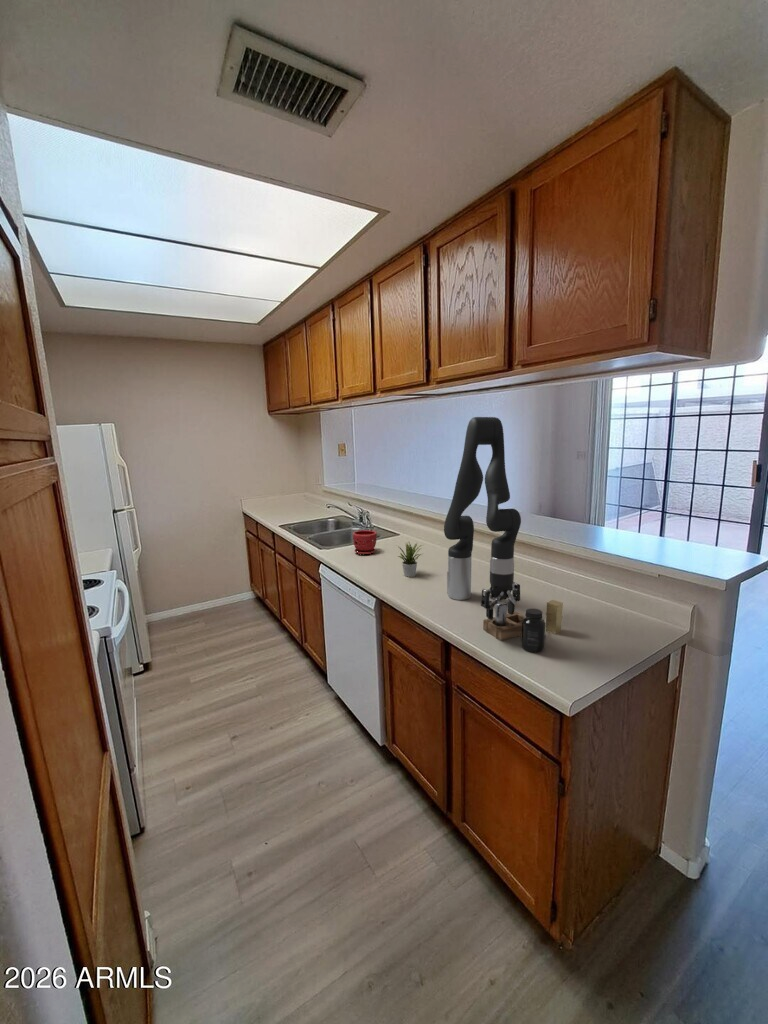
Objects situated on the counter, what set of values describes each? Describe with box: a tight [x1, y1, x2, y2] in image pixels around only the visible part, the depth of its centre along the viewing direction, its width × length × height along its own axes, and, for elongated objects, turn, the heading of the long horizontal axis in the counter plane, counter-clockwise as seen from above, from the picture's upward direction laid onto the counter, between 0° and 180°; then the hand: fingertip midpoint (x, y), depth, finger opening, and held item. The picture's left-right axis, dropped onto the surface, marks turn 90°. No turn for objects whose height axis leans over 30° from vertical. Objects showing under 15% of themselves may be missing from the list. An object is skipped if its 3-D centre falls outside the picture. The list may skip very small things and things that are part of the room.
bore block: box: [482, 611, 526, 642], centre depth 143 cm, size 9×14×4 cm, turn 115°
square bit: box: [545, 599, 564, 635], centre depth 142 cm, size 4×4×10 cm
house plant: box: [396, 540, 425, 578], centre depth 199 cm, size 14×14×16 cm
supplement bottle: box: [520, 608, 546, 653], centre depth 131 cm, size 7×7×12 cm
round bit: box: [494, 601, 508, 627], centre depth 141 cm, size 4×4×10 cm
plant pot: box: [352, 529, 378, 555], centre depth 238 cm, size 13×13×12 cm
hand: (500, 616), depth 141 cm, fingers open, 8 cm apart
